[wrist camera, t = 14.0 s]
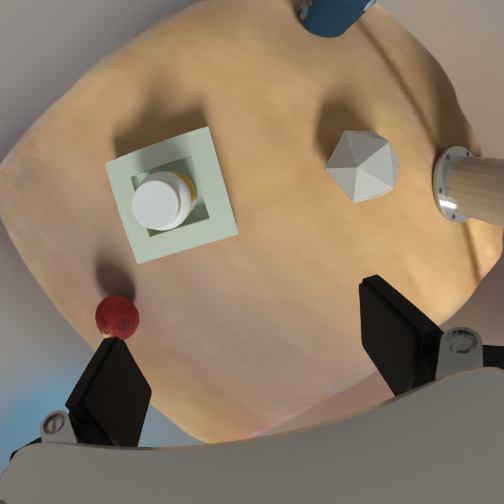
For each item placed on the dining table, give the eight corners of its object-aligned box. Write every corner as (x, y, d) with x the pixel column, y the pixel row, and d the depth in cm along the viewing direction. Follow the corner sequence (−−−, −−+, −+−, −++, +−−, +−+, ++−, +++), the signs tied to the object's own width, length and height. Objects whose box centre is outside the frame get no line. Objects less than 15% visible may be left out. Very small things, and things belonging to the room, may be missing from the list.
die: (305, 178, 34) (357, 226, 28) (320, 114, 27) (385, 155, 22) (350, 171, 37) (399, 212, 31) (367, 117, 31) (425, 153, 25)
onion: (142, 287, 35) (124, 316, 27) (146, 324, 37) (132, 358, 29) (104, 284, 34) (80, 312, 27) (110, 320, 36) (90, 352, 28)
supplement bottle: (191, 223, 31) (178, 246, 22) (147, 211, 30) (118, 229, 21) (203, 177, 30) (194, 180, 21) (158, 165, 29) (131, 165, 20)
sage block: (210, 131, 30) (208, 126, 26) (237, 226, 34) (238, 234, 30) (117, 163, 30) (105, 163, 26) (146, 253, 34) (137, 264, 30)
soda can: (352, 31, 27) (395, -5, 16) (317, 48, 28) (355, 7, 16) (321, -2, 25) (352, -47, 14) (284, 12, 26) (308, -37, 14)
